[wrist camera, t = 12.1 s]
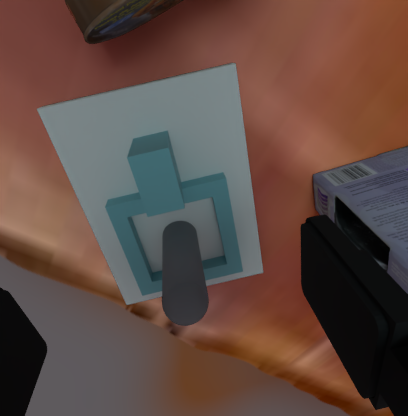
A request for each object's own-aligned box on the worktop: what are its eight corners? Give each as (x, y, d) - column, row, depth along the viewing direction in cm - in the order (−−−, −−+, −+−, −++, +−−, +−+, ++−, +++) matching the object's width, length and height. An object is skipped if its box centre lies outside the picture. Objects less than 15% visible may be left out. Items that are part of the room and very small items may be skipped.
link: (87, 149, 25) (71, 170, 21) (213, 119, 25) (223, 134, 21) (143, 285, 33) (140, 322, 29) (239, 262, 33) (251, 295, 29)
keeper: (42, 106, 24) (-49, 149, 14) (232, 62, 25) (283, 73, 14) (127, 297, 35) (112, 403, 25) (260, 265, 35) (301, 357, 25)
